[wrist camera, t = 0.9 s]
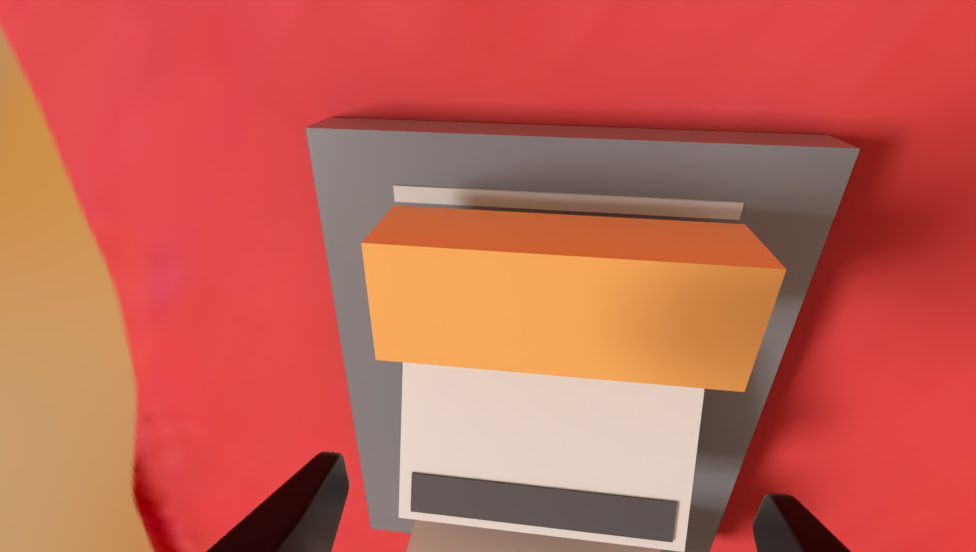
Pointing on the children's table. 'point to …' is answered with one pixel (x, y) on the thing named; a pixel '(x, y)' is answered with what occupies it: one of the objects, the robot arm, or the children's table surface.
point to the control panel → (572, 191)
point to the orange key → (570, 295)
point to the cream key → (500, 541)
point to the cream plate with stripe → (549, 454)
